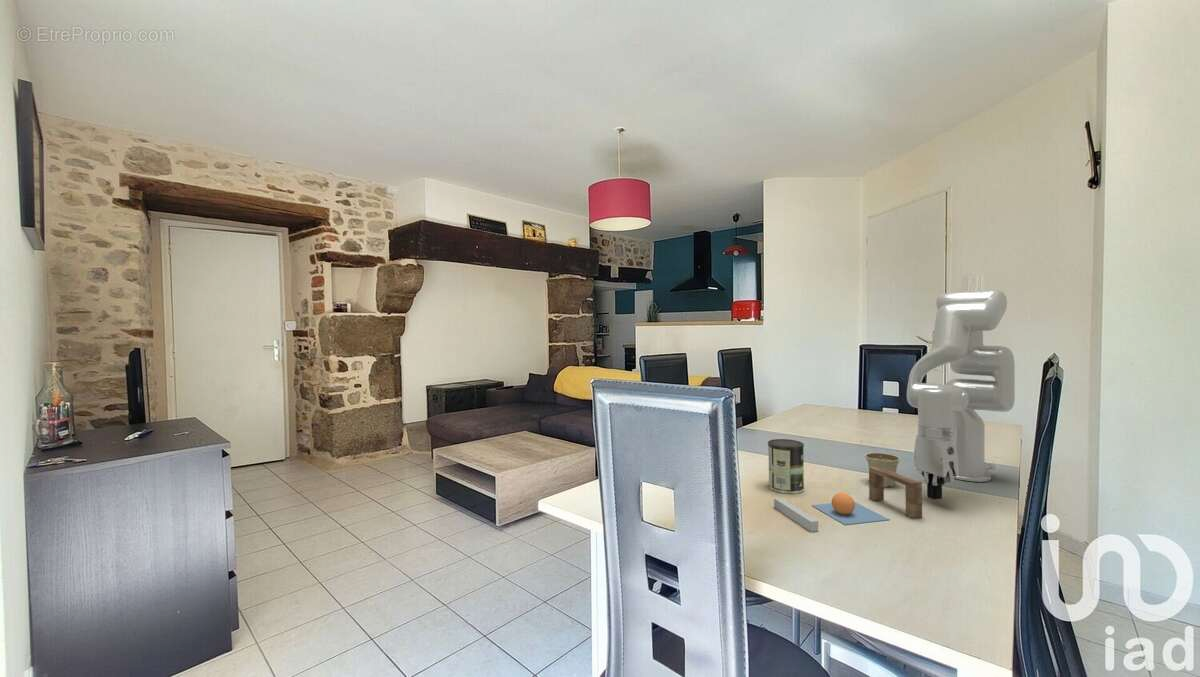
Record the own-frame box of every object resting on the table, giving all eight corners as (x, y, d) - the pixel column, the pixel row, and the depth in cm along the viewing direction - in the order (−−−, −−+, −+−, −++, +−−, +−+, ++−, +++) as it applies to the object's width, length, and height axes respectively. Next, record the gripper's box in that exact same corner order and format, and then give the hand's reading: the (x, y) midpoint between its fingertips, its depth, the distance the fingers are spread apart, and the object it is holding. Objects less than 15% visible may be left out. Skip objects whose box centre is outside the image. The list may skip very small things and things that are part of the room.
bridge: (878, 497, 134) (878, 466, 134) (922, 517, 120) (922, 482, 120) (869, 498, 134) (869, 466, 134) (912, 519, 120) (912, 483, 119)
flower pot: (869, 487, 143) (869, 459, 143) (861, 478, 152) (861, 451, 152) (904, 490, 140) (904, 461, 140) (894, 480, 149) (894, 453, 149)
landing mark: (852, 501, 132) (852, 500, 132) (889, 520, 119) (889, 519, 119) (811, 505, 129) (811, 505, 129) (844, 525, 117) (844, 524, 117)
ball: (831, 513, 126) (847, 504, 127) (846, 521, 121) (862, 511, 122) (824, 495, 125) (840, 486, 126) (838, 503, 120) (855, 493, 121)
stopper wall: (780, 506, 129) (780, 497, 129) (818, 531, 114) (818, 520, 114) (774, 507, 129) (774, 498, 129) (810, 531, 113) (810, 521, 113)
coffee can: (800, 483, 148) (799, 439, 148) (807, 494, 138) (807, 447, 138) (765, 481, 150) (765, 438, 150) (771, 493, 140) (770, 446, 140)
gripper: (972, 437, 122) (972, 507, 123) (922, 426, 137) (922, 488, 138) (948, 439, 121) (948, 509, 121) (900, 427, 136) (900, 490, 136)
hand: (934, 498), depth 129 cm, fingers closed
